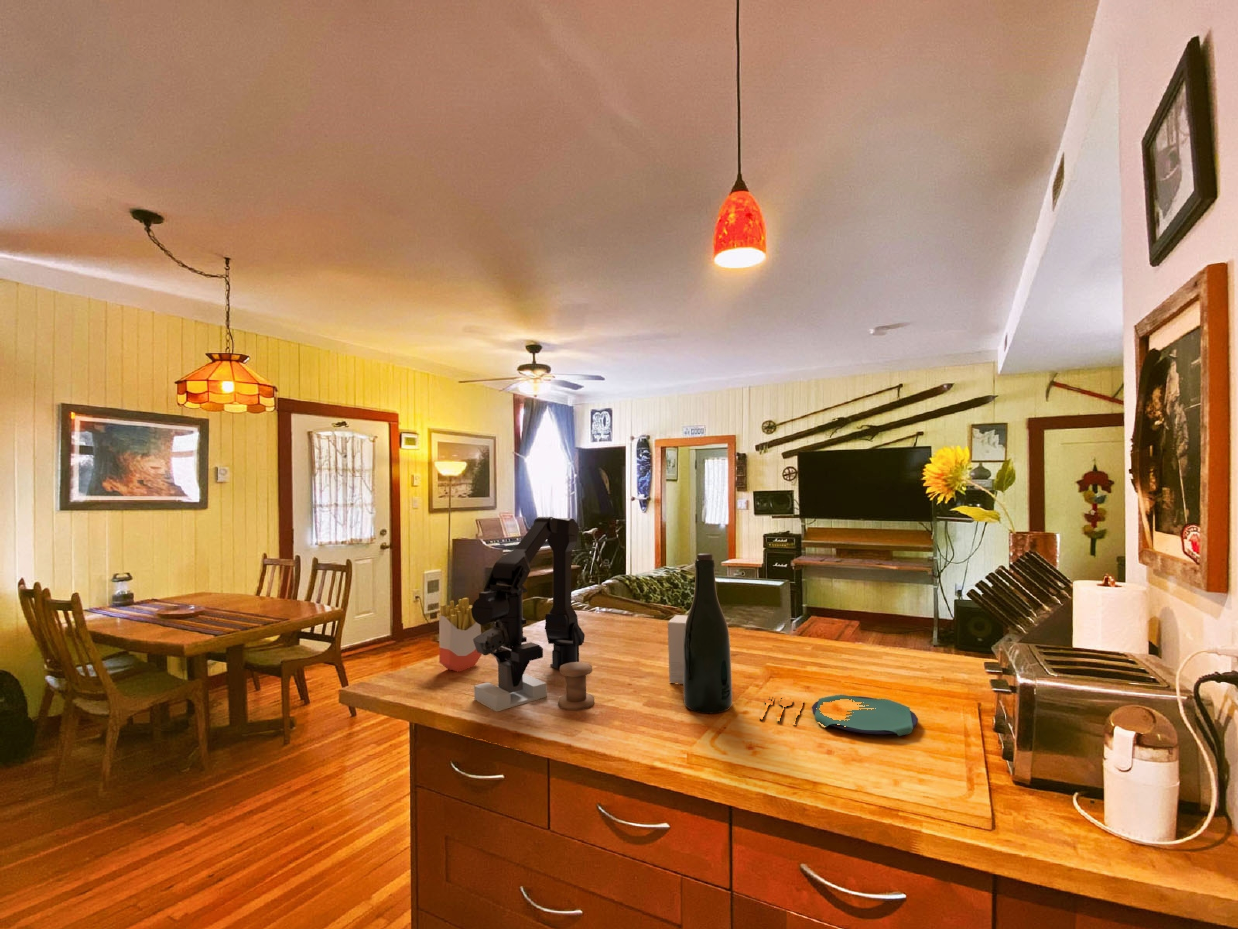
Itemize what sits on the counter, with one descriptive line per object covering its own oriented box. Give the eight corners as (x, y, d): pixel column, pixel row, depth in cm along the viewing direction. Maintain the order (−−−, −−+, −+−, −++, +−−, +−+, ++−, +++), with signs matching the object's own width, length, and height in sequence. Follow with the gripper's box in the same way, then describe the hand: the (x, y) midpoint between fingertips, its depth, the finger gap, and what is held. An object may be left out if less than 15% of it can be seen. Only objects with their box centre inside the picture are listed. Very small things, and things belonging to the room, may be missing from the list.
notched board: (523, 686, 141) (523, 673, 141) (546, 696, 133) (546, 683, 133) (474, 699, 132) (474, 685, 132) (496, 711, 125) (496, 697, 125)
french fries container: (482, 664, 159) (482, 598, 159) (450, 675, 150) (450, 604, 151) (471, 661, 161) (471, 596, 162) (439, 672, 153) (438, 603, 153)
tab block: (513, 685, 135) (513, 659, 136) (522, 689, 132) (522, 663, 133) (498, 689, 133) (498, 662, 133) (507, 693, 130) (507, 666, 130)
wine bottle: (702, 718, 119) (698, 557, 120) (674, 702, 128) (671, 552, 130) (742, 709, 124) (738, 554, 125) (712, 694, 133) (709, 549, 135)
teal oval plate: (922, 749, 104) (922, 736, 104) (754, 727, 116) (754, 715, 116) (915, 711, 122) (914, 699, 123) (770, 695, 134) (769, 685, 134)
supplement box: (711, 675, 146) (710, 616, 147) (705, 687, 138) (703, 624, 138) (676, 672, 149) (675, 613, 150) (668, 684, 140) (666, 621, 141)
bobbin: (579, 694, 134) (579, 659, 135) (601, 703, 128) (601, 667, 129) (551, 703, 129) (550, 666, 129) (572, 713, 123) (572, 675, 123)
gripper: (459, 614, 135) (459, 682, 134) (499, 628, 121) (500, 704, 120) (501, 607, 142) (502, 671, 142) (544, 619, 128) (544, 691, 128)
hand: (510, 684), depth 133 cm, fingers closed on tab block, 4 cm apart
